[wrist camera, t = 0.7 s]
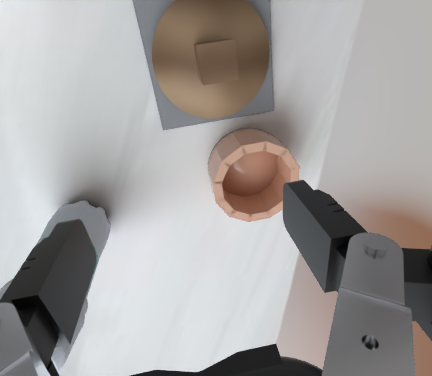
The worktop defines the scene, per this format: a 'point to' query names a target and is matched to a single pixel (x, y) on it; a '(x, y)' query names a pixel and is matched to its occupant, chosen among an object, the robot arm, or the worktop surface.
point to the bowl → (250, 174)
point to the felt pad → (169, 113)
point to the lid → (210, 56)
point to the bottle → (99, 235)
